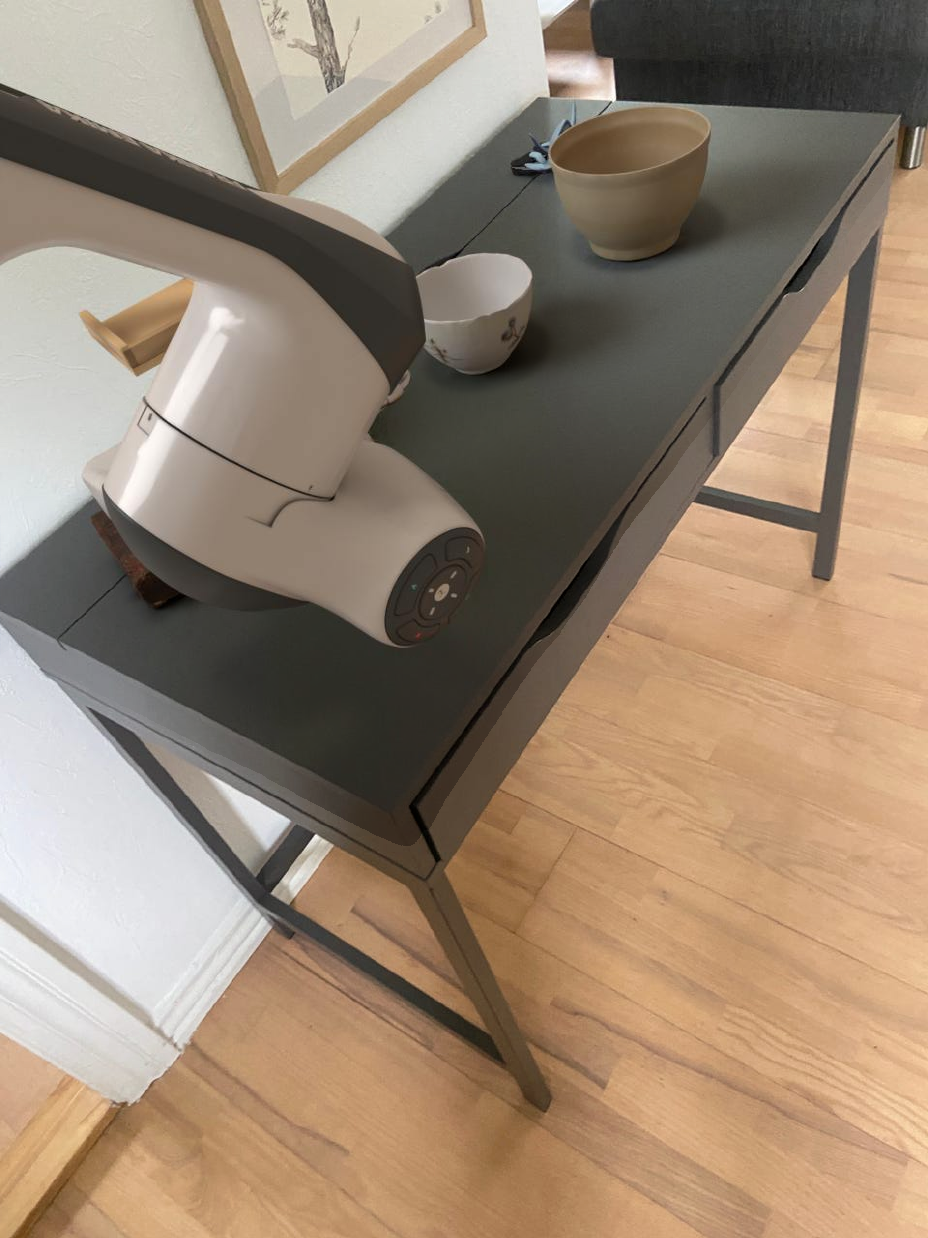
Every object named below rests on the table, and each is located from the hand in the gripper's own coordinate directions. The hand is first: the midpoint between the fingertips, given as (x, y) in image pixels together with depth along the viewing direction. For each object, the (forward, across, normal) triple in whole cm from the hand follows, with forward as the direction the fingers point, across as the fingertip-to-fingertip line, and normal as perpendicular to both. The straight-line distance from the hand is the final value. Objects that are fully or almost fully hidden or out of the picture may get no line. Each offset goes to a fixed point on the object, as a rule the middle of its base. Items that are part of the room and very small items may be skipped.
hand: (193, 384), depth 64 cm
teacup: (+11, -29, +18) cm, 36 cm away
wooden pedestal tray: (-1, 0, +5) cm, 5 cm away
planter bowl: (+13, -54, +18) cm, 58 cm away
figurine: (+34, -62, +18) cm, 73 cm away
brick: (+9, +9, +18) cm, 22 cm away
